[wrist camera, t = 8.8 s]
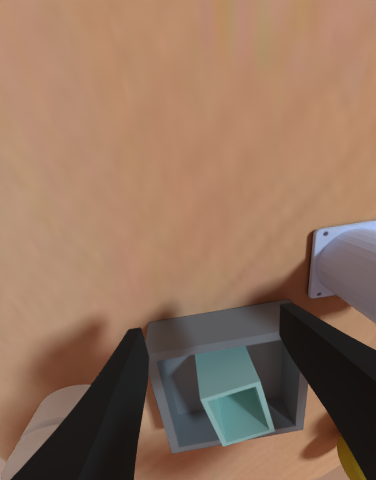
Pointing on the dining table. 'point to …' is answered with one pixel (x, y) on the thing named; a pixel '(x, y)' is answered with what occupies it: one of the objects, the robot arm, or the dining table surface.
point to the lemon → (349, 461)
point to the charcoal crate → (214, 339)
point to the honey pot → (43, 426)
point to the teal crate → (232, 395)
